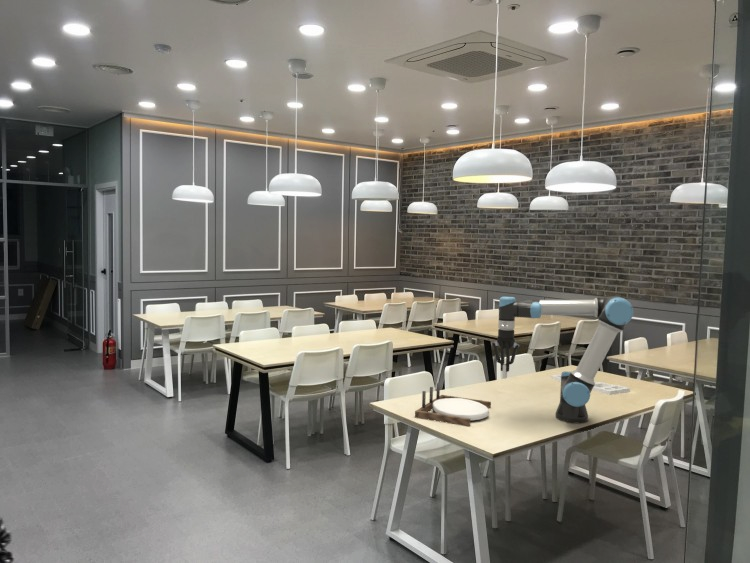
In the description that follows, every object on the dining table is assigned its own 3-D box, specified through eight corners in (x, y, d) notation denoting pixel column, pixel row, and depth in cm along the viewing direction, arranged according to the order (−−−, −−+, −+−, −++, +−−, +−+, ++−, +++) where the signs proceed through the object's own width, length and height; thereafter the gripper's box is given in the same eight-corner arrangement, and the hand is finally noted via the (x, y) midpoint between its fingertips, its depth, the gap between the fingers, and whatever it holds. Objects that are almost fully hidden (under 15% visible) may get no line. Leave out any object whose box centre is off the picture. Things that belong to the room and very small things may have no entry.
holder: (550, 379, 372) (550, 375, 372) (569, 377, 381) (569, 373, 381) (609, 395, 333) (609, 391, 333) (629, 392, 342) (630, 388, 342)
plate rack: (490, 407, 300) (491, 386, 299) (468, 426, 267) (469, 402, 266) (441, 400, 312) (442, 380, 312) (414, 417, 279) (415, 394, 279)
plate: (500, 409, 281) (457, 416, 267) (499, 421, 282) (456, 430, 268) (463, 390, 304) (422, 396, 290) (462, 402, 305) (421, 408, 291)
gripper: (490, 328, 276) (489, 377, 277) (518, 331, 270) (516, 381, 271) (494, 327, 283) (493, 374, 284) (521, 329, 277) (520, 378, 278)
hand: (504, 377), depth 278 cm, fingers closed
